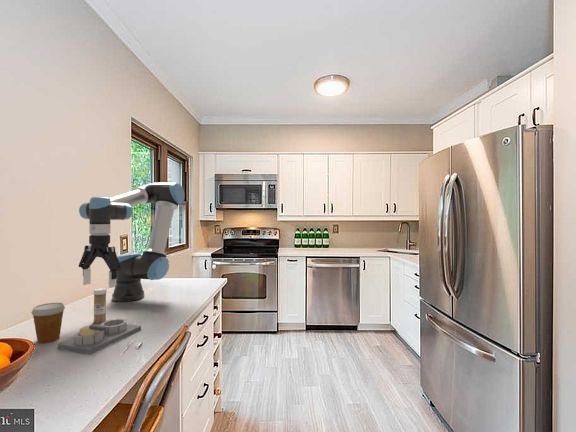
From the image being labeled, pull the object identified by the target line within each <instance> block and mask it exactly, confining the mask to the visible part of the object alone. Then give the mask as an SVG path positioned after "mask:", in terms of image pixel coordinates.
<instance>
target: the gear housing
mask: <svg viewBox="0 0 576 432" xmlns="http://www.w3.org/2000/svg"><path fill="white" fill-rule="evenodd" d="M127 322H128V320H127V319H125V318H114V319H113V318H112V319H108V320H107V319H106V320H105V321H104V322H100V325H99V324H98V325H97V324H91V325H86V326H83V327H80V328H79V331H76V333H74V336H73V337H72V338H69V339H67V340H64V341H61V342H58V343H57V349H59V350H64V351H65V350H66V351H69V352H74V353H80V354H85V355H92V354H94V353H96V352H98V351H100V350H102V349H104V348H106V347H108V346H111V345H112V344H115V343H116V342H119V341H120V340H122V339H125V338H127V337H129V336H131V335H134V334H136V333H137V332H140V331H141V330H142V326H141V325H137V324H130V323H127Z"/></svg>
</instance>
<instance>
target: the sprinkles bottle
mask: <svg viewBox="0 0 576 432" xmlns="http://www.w3.org/2000/svg"><path fill="white" fill-rule="evenodd" d="M105 321H107V288H105V287H99V288H95V289H93V322H94V323H97V324H99V323H100V324H101V323H102V322H105Z"/></svg>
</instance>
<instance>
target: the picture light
mask: <svg viewBox="0 0 576 432" xmlns="http://www.w3.org/2000/svg"><path fill="white" fill-rule="evenodd" d="M135 340H136V338H133V339H132V340H131V341H130V342H129V343H128V344H127V346H126V347H125V349H124V350H122V352H121V353H120V354H119V356H118V357H121V356H123V355H124V353H125V352H126V351H127V350H128V349H129V347H130V346H131V345H133V344H134V345H135V349H136V350H139V347H140V345H143V342H142V341H140V342H139V343H137V342H136V341H135Z"/></svg>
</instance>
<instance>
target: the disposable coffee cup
mask: <svg viewBox="0 0 576 432" xmlns="http://www.w3.org/2000/svg"><path fill="white" fill-rule="evenodd" d="M65 308H66V306H65V305H64V303H63V302H49V303H41V304H39V305H38V304H37V305H36V306H34V307H33V308H32V310H31V313H30V314H31V315H32V317H33V324H34V329H35V333H36V334H35V336H36V342H37V343H38V344H45V343H47V344H48V343H52V342H55V341H57V340H58V339H60V336H61V329H62V322H63V316H64V310H65Z"/></svg>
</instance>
